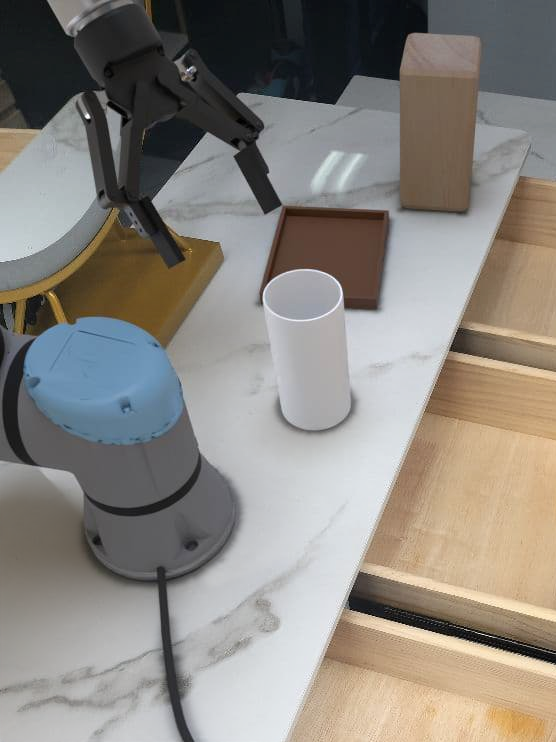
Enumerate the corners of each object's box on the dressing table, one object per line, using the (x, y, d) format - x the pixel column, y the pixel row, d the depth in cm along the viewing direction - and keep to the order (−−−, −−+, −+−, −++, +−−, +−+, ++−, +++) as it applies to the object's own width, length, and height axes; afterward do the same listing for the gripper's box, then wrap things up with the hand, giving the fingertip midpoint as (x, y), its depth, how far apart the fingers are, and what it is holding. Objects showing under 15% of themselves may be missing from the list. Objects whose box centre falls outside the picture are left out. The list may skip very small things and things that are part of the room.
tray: (376, 309, 106) (376, 298, 104) (261, 303, 106) (259, 293, 105) (389, 220, 117) (388, 210, 115) (283, 216, 117) (282, 205, 116)
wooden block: (471, 175, 123) (482, 32, 107) (468, 214, 118) (479, 70, 101) (406, 171, 124) (406, 29, 107) (399, 210, 118) (398, 66, 102)
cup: (271, 392, 97) (251, 281, 84) (335, 372, 99) (325, 260, 86) (295, 439, 93) (278, 330, 80) (361, 417, 95) (355, 307, 82)
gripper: (-1, 42, 67) (147, 281, 75) (222, -33, 79) (328, 179, 88) (-23, 79, 73) (118, 297, 81) (189, 4, 85) (291, 199, 94)
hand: (227, 236), depth 85 cm, fingers open, 13 cm apart
